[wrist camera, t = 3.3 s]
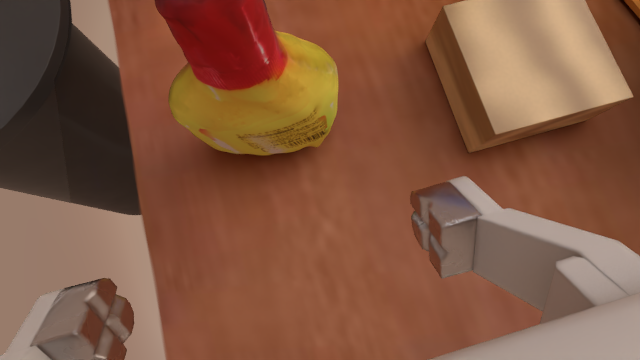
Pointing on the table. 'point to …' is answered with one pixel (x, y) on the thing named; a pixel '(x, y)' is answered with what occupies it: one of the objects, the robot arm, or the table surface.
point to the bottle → (248, 79)
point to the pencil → (634, 6)
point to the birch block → (522, 67)
